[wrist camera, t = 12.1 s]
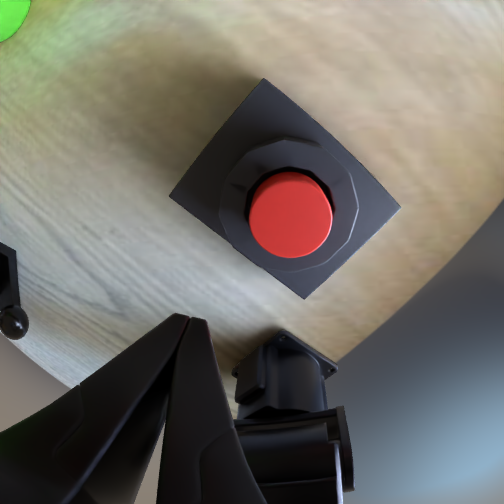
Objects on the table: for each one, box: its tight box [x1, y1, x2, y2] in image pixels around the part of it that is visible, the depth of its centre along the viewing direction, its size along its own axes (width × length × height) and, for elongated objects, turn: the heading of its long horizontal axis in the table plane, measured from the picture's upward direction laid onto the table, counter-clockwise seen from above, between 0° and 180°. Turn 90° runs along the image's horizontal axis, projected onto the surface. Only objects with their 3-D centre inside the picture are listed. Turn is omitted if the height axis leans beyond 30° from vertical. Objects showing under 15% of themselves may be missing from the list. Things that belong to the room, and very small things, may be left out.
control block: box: [169, 78, 401, 299], centre depth 16 cm, size 10×8×4 cm
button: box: [249, 172, 332, 258], centre depth 14 cm, size 4×4×2 cm
